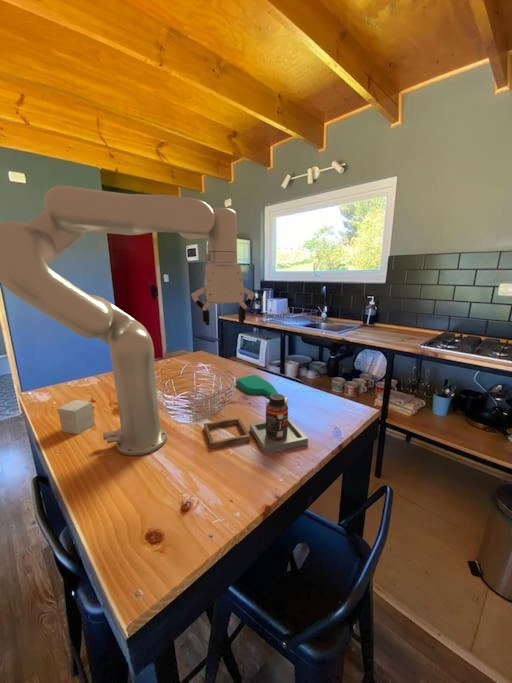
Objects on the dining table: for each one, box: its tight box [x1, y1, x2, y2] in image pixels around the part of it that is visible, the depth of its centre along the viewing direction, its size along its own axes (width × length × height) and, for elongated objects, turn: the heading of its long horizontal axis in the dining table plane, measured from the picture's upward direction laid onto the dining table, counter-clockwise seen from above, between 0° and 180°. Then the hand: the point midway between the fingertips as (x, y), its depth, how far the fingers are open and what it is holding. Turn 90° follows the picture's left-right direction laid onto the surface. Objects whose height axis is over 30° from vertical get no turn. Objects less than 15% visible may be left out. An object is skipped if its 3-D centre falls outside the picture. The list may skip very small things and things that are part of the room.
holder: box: [203, 417, 251, 450], centre depth 81 cm, size 11×11×2 cm
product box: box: [57, 399, 95, 435], centre depth 84 cm, size 6×6×7 cm
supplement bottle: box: [265, 393, 289, 440], centre depth 78 cm, size 6×6×11 cm
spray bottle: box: [235, 374, 289, 404], centre depth 108 cm, size 3×11×24 cm
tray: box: [249, 416, 309, 455], centre depth 79 cm, size 12×12×2 cm
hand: (224, 323), depth 81 cm, fingers open, 9 cm apart
